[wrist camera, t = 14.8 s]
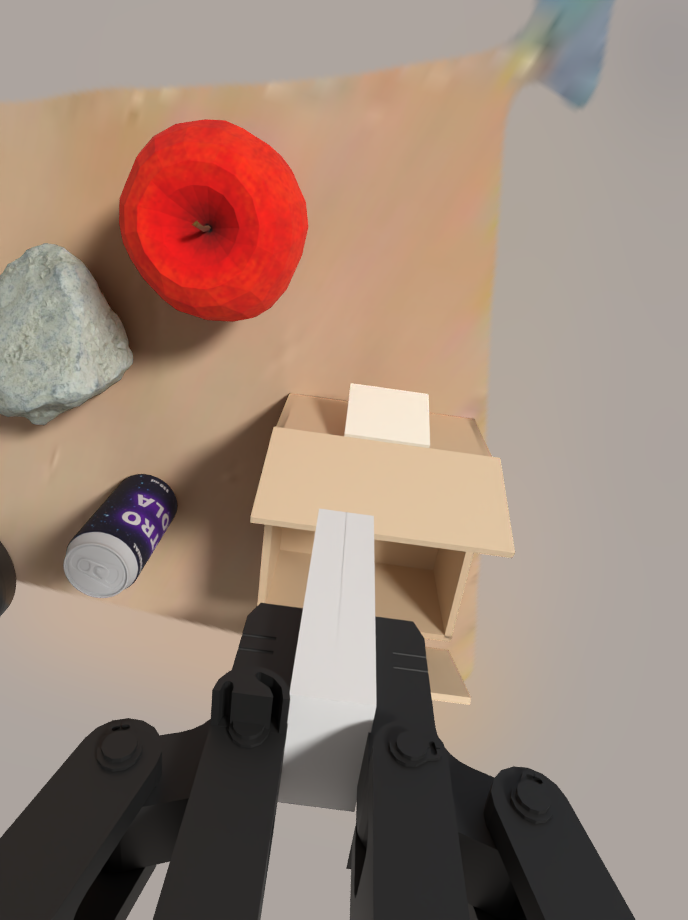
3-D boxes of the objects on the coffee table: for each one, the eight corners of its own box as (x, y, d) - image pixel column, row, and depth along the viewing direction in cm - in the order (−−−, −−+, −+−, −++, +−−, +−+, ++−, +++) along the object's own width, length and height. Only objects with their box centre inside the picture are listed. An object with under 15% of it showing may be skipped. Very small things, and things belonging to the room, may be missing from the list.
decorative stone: (139, 427, 52) (136, 401, 43) (0, 435, 49) (-36, 410, 40) (127, 286, 54) (121, 232, 44) (-9, 285, 50) (-46, 225, 41)
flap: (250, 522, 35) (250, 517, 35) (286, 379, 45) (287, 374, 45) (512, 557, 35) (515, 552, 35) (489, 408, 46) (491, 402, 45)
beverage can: (168, 532, 57) (120, 613, 46) (111, 508, 56) (49, 584, 45) (188, 485, 55) (143, 558, 44) (130, 459, 54) (69, 527, 43)
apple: (316, 304, 48) (298, 342, 35) (171, 298, 48) (103, 333, 36) (318, 137, 43) (298, 113, 30) (157, 131, 43) (72, 105, 31)
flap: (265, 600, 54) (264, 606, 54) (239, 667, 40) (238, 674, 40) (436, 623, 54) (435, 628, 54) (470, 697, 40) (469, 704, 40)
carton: (273, 551, 57) (256, 617, 48) (289, 393, 51) (272, 435, 42) (437, 573, 57) (450, 643, 49) (474, 419, 51) (496, 466, 42)
